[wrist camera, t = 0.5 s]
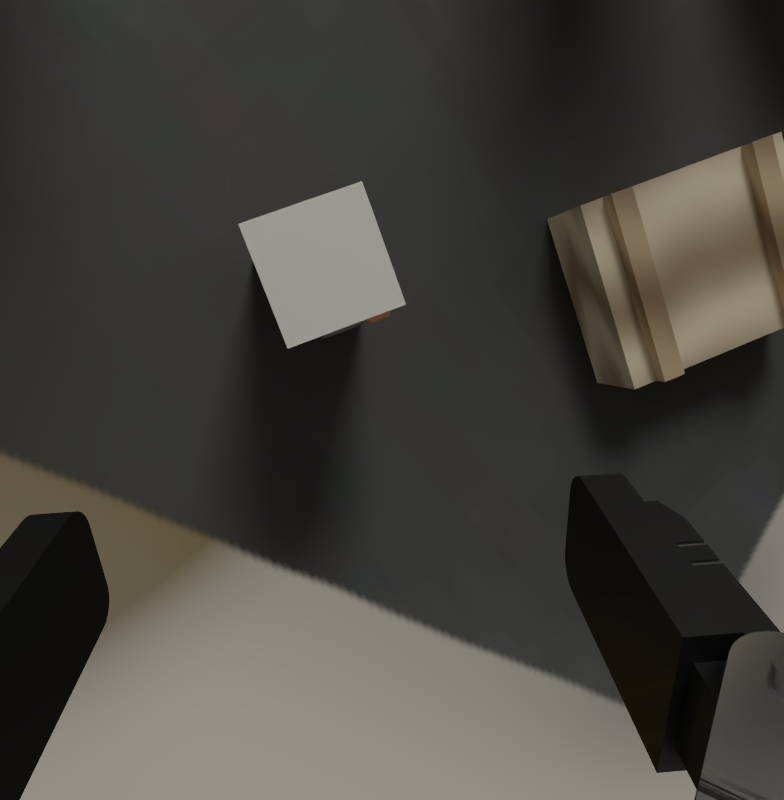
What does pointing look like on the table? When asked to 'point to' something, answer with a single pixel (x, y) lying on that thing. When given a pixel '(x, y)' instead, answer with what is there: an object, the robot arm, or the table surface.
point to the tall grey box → (323, 265)
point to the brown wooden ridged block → (678, 265)
